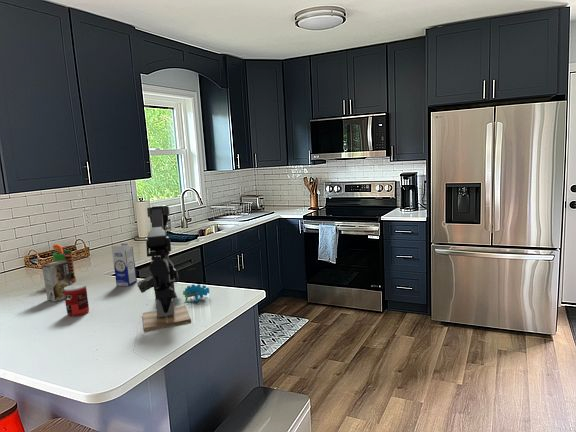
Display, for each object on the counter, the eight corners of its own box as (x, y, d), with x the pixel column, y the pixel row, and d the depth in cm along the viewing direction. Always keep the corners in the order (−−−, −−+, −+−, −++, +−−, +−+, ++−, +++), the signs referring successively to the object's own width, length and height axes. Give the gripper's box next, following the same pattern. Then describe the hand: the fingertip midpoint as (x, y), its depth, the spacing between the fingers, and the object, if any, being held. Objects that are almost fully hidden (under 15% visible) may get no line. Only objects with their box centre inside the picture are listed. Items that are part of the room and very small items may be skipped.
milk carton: (116, 286, 205) (111, 245, 202) (124, 282, 211) (119, 242, 208) (129, 286, 203) (124, 245, 200) (137, 282, 210) (132, 242, 207)
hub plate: (142, 315, 163) (141, 303, 162) (185, 308, 168) (184, 296, 167) (144, 331, 148) (142, 318, 147) (191, 322, 153) (189, 309, 152)
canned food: (68, 311, 173) (64, 285, 171) (90, 308, 175) (86, 282, 174) (66, 318, 165) (62, 290, 164) (88, 314, 168) (84, 287, 167)
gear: (213, 291, 181) (204, 281, 173) (212, 304, 177) (203, 294, 169) (188, 296, 182) (178, 285, 175) (187, 308, 179) (177, 298, 171)
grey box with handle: (156, 311, 159) (154, 297, 158) (173, 309, 161) (171, 294, 160) (157, 317, 154) (155, 302, 153) (174, 314, 156) (173, 299, 155)
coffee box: (66, 293, 198) (61, 259, 195) (74, 295, 194) (69, 260, 192) (46, 300, 190) (41, 265, 188) (54, 302, 187) (49, 266, 184)
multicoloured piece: (75, 283, 214) (69, 244, 211) (55, 286, 211) (49, 247, 208) (77, 278, 223) (71, 241, 220) (57, 281, 220) (52, 243, 217)
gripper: (136, 266, 161) (141, 305, 163) (137, 278, 144) (143, 322, 146) (167, 261, 165) (171, 300, 167) (171, 273, 147) (176, 316, 150)
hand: (165, 309), depth 157 cm, fingers closed on grey box with handle, 6 cm apart
